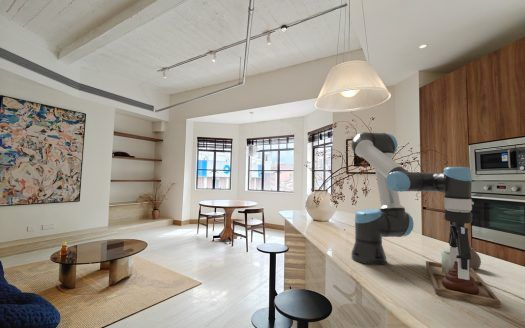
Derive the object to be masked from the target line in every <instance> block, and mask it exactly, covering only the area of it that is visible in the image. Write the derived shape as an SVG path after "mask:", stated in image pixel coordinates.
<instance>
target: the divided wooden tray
mask: <svg viewBox="0 0 525 328" xmlns="http://www.w3.org/2000/svg"><path fill="white" fill-rule="evenodd" d="M425 267H426V269H427V270H426V271H427V272H428V276H429V279H430V281H431V284H432V287H433V290H434V292H435V295H436V296H437V295H438V296H442V297H447V298H451V299H456V300H461V301H465V302H469V303H475V304H479V305H485V306H489V307H492V308H493V307H494V308H499V309H501V307H502V306H501V300H500V299H499V298H498V296H497V295H496V294H495V293H494V292H493V291H492V290H491V288H490V287H489V286H488V285H487V284H486V283H485V282H484V280H483V279H482V278H481V277H480V276H479V275H478V274H477V272H476V271H475V270H473V269H472V268H469V273H470V276H472V277H473V278H474V279H475V284H476V285H477V286H478V287H479V293H478V294H476V295H471V294H466V293H463V292H461V291H453V290H450V289H447V288H446V287H444V286H443V284H442V279H443V278H444V277H445V276H446V275H445V274H443V273H442V262H437V261H436V262H435V261H429V260H426V261H425Z"/></svg>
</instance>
